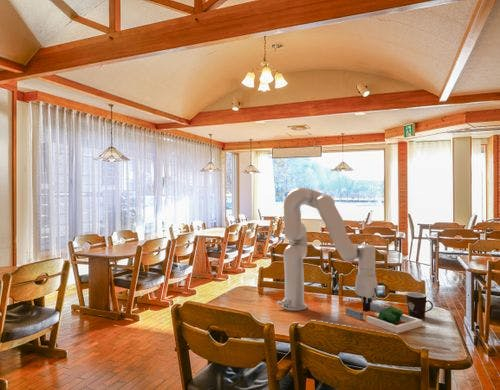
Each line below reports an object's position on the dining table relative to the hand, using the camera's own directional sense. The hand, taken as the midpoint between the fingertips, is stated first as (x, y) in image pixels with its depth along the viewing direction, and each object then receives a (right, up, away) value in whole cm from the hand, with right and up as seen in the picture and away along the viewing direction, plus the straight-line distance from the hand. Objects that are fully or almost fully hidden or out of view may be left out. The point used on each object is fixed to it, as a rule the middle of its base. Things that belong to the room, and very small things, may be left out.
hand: (366, 310), depth 170 cm
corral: (+7, -2, -12) cm, 14 cm away
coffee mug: (+22, -2, -5) cm, 22 cm away
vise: (+2, -2, +2) cm, 4 cm away
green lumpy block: (+7, -2, -11) cm, 14 cm away
